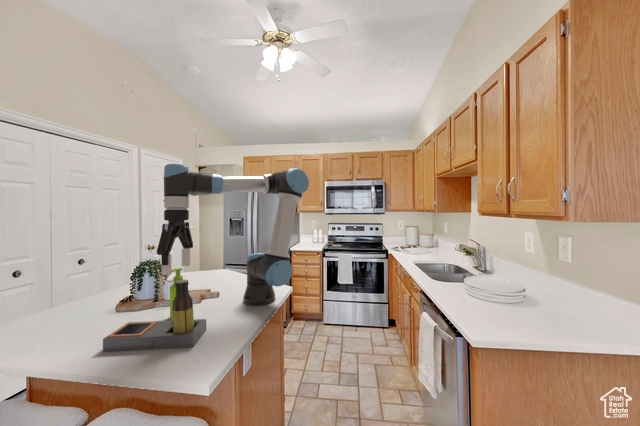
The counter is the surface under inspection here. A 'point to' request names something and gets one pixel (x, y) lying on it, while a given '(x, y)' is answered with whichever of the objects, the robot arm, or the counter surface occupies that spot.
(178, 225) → the robot arm
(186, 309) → the sauce bottle
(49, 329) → the counter surface
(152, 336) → the grey tray
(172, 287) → the soap dispenser
